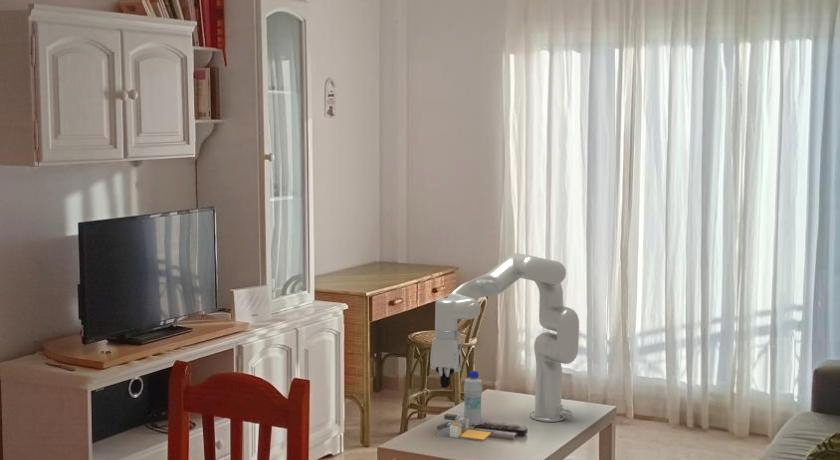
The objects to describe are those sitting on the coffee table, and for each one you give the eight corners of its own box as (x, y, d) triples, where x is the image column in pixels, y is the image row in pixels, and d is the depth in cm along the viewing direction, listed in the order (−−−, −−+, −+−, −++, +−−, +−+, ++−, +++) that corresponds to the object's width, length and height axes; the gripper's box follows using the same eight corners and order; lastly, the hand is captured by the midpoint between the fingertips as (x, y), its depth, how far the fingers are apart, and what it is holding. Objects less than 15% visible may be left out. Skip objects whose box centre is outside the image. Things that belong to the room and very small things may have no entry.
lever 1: (452, 424, 352) (451, 420, 352) (450, 426, 350) (448, 422, 350) (440, 428, 354) (438, 424, 354) (437, 430, 352) (436, 426, 352)
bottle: (483, 424, 369) (485, 369, 367) (478, 429, 362) (480, 374, 360) (465, 422, 371) (467, 368, 369) (460, 427, 365) (461, 372, 363)
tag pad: (491, 433, 355) (491, 432, 355) (483, 440, 347) (483, 439, 347) (467, 430, 358) (467, 429, 358) (459, 436, 350) (459, 436, 350)
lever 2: (459, 419, 360) (459, 415, 360) (457, 420, 357) (457, 417, 357) (446, 417, 362) (446, 413, 362) (443, 419, 359) (444, 415, 359)
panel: (493, 434, 357) (494, 419, 357) (482, 444, 345) (482, 428, 344) (447, 428, 363) (447, 413, 363) (434, 438, 351) (435, 422, 351)
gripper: (470, 334, 351) (469, 386, 353) (429, 330, 356) (428, 382, 358) (463, 338, 344) (462, 392, 346) (421, 334, 349) (420, 387, 351)
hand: (445, 387), depth 352 cm, fingers closed
